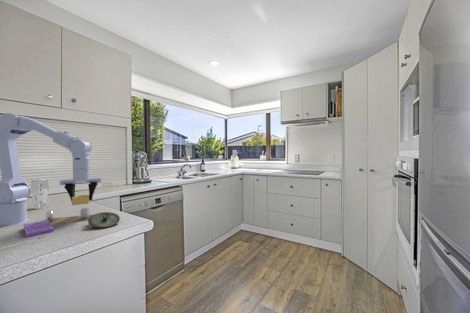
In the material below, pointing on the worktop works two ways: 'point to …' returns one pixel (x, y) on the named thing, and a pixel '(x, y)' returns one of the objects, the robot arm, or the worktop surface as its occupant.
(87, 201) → the collar
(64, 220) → the stand board
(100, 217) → the lid
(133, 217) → the worktop surface
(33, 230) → the sponges
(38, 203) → the beer glass
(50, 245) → the worktop surface
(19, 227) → the worktop surface
